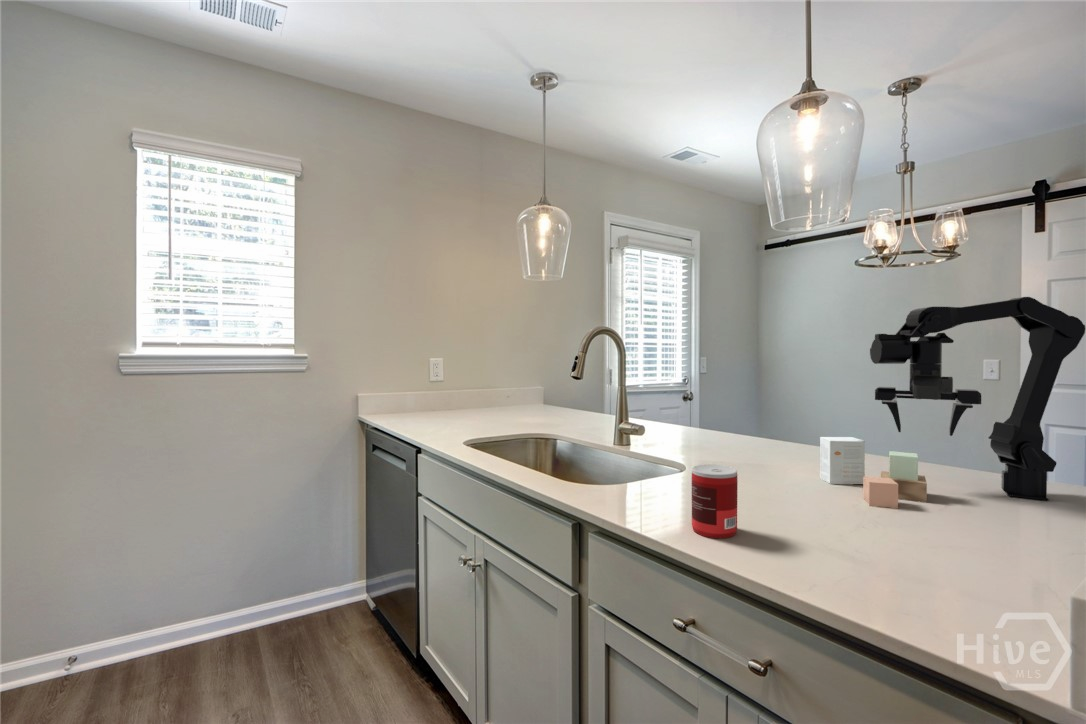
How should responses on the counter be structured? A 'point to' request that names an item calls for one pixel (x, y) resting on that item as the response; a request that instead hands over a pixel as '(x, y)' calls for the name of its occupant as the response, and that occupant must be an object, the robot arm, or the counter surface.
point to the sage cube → (903, 465)
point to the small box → (842, 460)
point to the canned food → (714, 501)
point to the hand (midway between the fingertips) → (924, 433)
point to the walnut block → (910, 488)
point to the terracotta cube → (880, 492)
